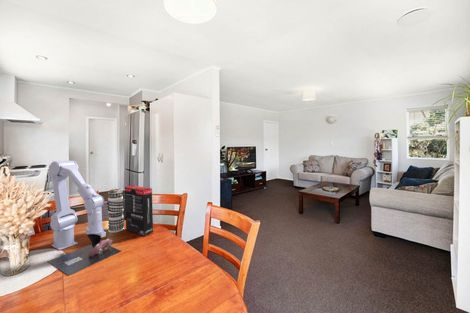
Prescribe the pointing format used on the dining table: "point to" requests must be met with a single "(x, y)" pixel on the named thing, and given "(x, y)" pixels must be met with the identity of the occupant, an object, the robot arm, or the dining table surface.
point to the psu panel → (81, 259)
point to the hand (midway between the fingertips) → (96, 247)
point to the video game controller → (100, 247)
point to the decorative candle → (115, 210)
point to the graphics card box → (139, 209)
